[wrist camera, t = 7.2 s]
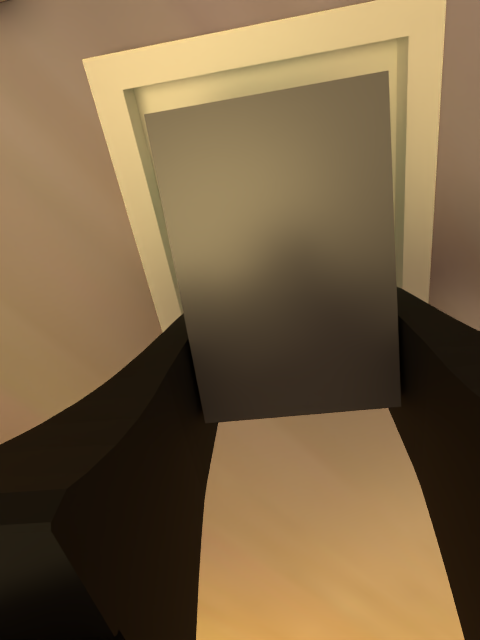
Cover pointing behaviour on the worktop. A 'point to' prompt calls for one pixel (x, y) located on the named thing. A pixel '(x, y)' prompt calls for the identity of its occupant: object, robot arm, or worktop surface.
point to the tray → (271, 75)
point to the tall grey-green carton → (285, 247)
